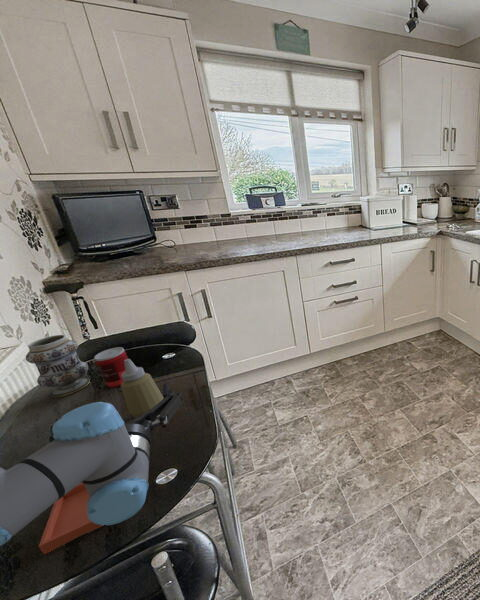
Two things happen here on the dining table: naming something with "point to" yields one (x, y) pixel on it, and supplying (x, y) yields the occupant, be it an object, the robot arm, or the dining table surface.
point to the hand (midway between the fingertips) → (134, 398)
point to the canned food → (112, 365)
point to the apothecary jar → (58, 364)
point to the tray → (67, 520)
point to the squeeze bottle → (139, 390)
